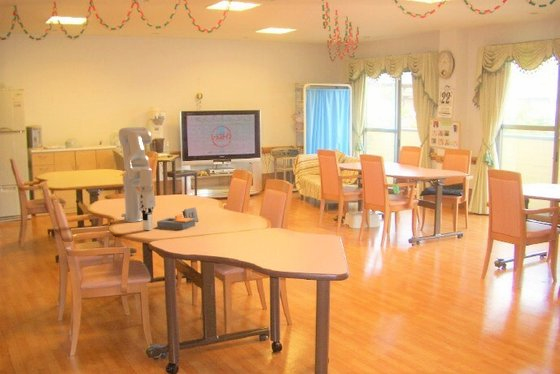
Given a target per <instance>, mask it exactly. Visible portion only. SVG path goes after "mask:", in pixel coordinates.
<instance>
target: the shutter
mask: <svg viewBox="0 0 560 374" xmlns="http://www.w3.org/2000/svg"><path fill="white" fill-rule="evenodd" d="M174 218H175V220H174V222H188V221H191V220H193V218H184V217H183V213H182V214H177V215H174Z"/></svg>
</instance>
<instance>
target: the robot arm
mask: <svg viewBox="0 0 560 374" xmlns="http://www.w3.org/2000/svg"><path fill="white" fill-rule="evenodd" d="M118 139H119V142H120V145H121V147H122V154H123V155H122V156H123V157H122V158H123V167H124V169H125V170H126V172H125V173H123V175H122V184H123V189H124V190H123V191H124V207H125V212H124V213H121V217H122V218H123V222H126V223H137V222H138V223H139V222H143V220H148V217H147V212H152V213H153V212H154V208H155V207H156V197H155V192H154V182H153V178H154V177H153V176H154V175H153V169H152V168H151V167H150V166H151V164H150V159H149V157H148V156H147V154H146V150H145V145H150V144H152V141H153V137H152V133H151V131H150V130H149V129H148V128H146V127H144V126H143V127H140V126H139V127H135V126H134V127H131V126H130V127H123V128H120V129H119V131H118ZM136 187H139V189H137V188H136Z"/></svg>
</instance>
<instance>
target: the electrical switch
mask: <svg viewBox="0 0 560 374" xmlns="http://www.w3.org/2000/svg"><path fill="white" fill-rule="evenodd" d="M182 217H183V218H193V219H195V223H197V222H199V217H198V212H197V208H196V207H190V208H184V210H182Z"/></svg>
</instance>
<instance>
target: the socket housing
mask: <svg viewBox="0 0 560 374" xmlns="http://www.w3.org/2000/svg"><path fill="white" fill-rule="evenodd" d="M174 220H175V217H167V218H164V219H161V220H157V221H156V227H157V229H164V228H166V229H167V230H176V229H179V230H178V231H184V230H187V229H190V228H192V227H195V226H196V222H195V219H193V220H191V221H188V222H174Z"/></svg>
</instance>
